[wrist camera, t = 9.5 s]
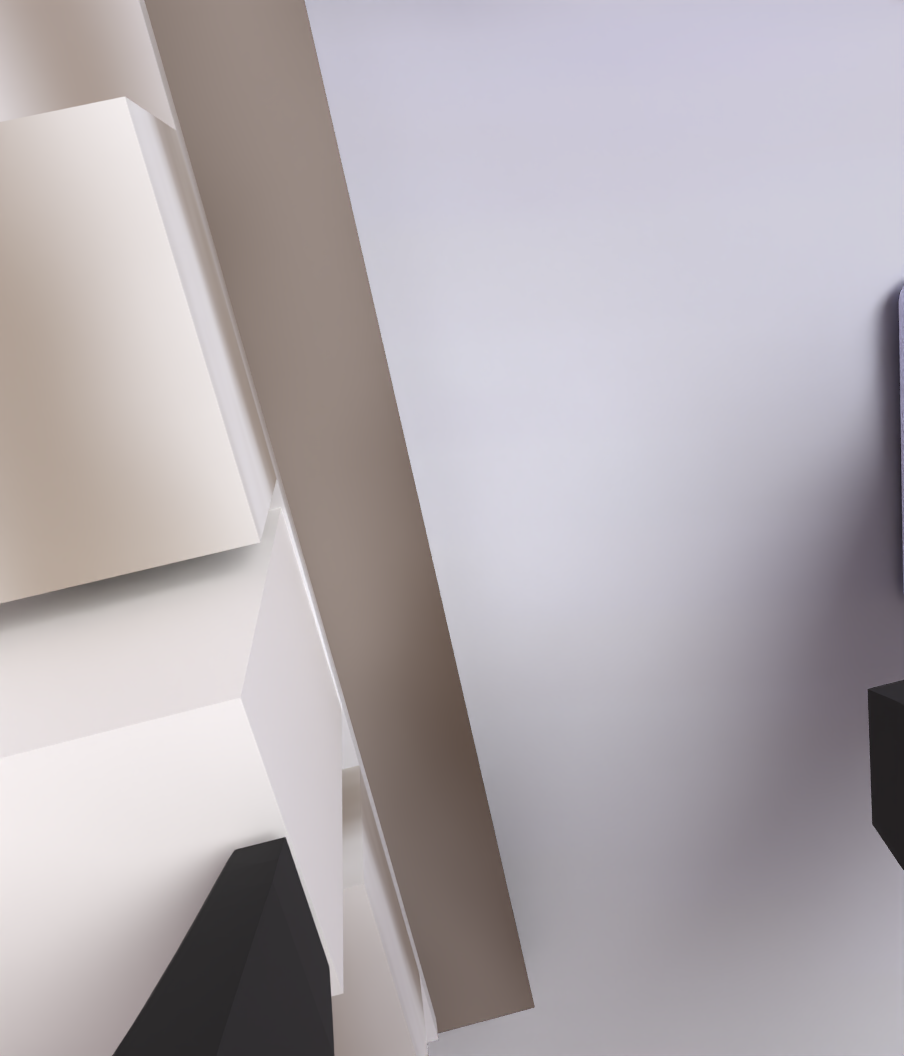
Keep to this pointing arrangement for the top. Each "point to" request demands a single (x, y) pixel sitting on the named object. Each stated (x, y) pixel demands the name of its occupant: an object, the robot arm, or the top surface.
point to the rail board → (350, 472)
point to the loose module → (154, 778)
